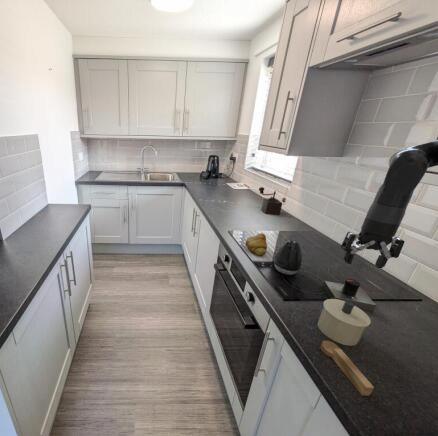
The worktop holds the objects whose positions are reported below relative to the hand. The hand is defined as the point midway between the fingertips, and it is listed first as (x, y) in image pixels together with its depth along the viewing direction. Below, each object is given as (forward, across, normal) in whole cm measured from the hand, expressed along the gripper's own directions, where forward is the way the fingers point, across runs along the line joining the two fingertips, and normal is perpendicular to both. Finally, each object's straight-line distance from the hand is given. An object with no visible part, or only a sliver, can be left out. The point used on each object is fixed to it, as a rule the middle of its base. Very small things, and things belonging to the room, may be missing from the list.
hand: (362, 264), depth 74 cm
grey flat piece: (+18, +4, +6) cm, 19 cm away
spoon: (+18, -12, -26) cm, 34 cm away
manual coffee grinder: (+18, -3, +104) cm, 105 cm away
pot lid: (+10, -8, -12) cm, 18 cm away
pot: (+18, -8, -12) cm, 23 cm away
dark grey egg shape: (+18, -14, +19) cm, 30 cm away
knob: (+15, +4, +6) cm, 16 cm away
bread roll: (+18, -23, +36) cm, 46 cm away
